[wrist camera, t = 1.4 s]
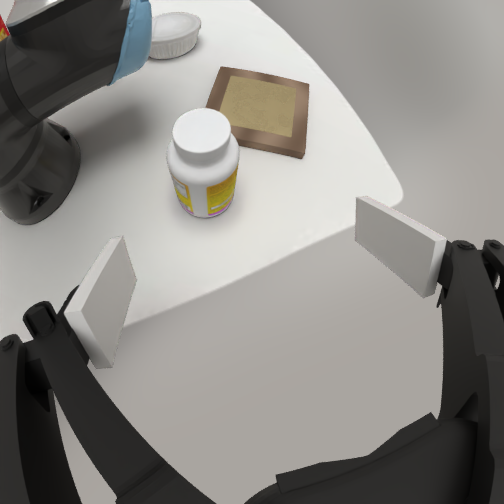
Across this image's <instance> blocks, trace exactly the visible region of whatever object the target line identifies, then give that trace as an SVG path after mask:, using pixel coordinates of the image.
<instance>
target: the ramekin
mask: <svg viewBox="0 0 504 504" xmlns="http://www.w3.org/2000/svg"><path fill="white" fill-rule="evenodd" d="M200 28H201V20H200V19H199V17H197V16H196V15H194V14H190V13H185V12H172V13H166V14H161V15H158V16H155V17H153V18H152V41H151V49H150V54H149V56H150V57H152V58H155V59H170V58H175V57H178V56H181V55H183V54H185V53H187V52H188V51H190V50H191V49H192V48H193V47H194V46H195V44H196V42H197V37H198V33H199V30H200Z"/></svg>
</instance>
